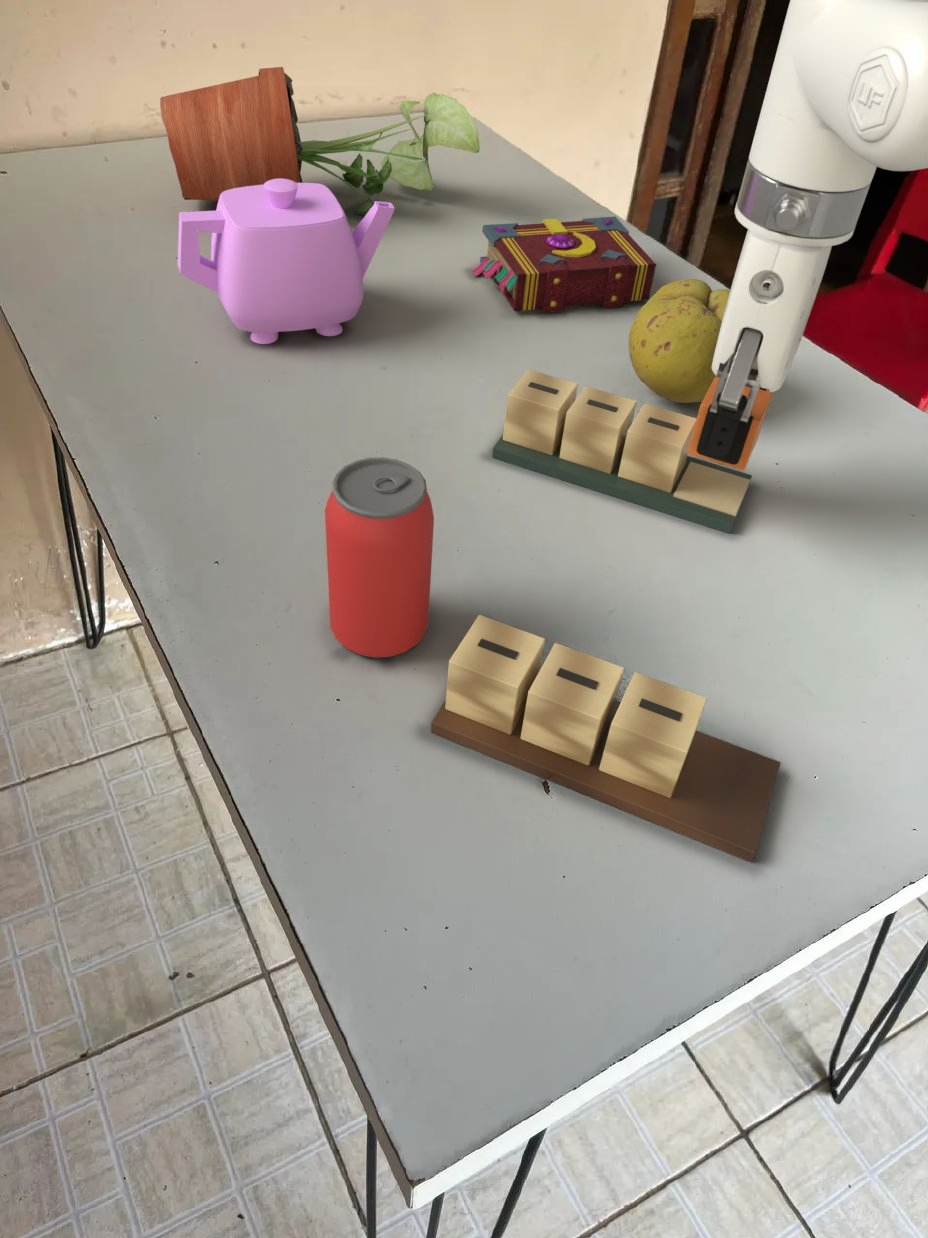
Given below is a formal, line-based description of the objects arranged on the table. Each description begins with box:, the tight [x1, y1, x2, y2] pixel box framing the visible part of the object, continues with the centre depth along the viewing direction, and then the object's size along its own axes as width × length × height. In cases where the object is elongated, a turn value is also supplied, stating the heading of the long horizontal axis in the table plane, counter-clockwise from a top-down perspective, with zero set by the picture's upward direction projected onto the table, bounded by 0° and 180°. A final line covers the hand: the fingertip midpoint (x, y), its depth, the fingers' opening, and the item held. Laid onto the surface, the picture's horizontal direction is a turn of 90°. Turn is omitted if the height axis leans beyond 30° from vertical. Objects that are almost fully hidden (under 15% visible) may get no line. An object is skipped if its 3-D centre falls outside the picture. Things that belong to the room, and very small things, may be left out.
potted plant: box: [159, 66, 481, 216], centre depth 109 cm, size 16×15×35 cm
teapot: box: [177, 178, 395, 345], centre depth 90 cm, size 20×12×13 cm, turn 110°
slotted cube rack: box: [491, 369, 753, 534], centre depth 78 cm, size 20×7×6 cm, turn 65°
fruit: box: [628, 278, 732, 404], centre depth 85 cm, size 11×12×10 cm
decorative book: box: [471, 216, 657, 314], centre depth 101 cm, size 11×16×5 cm
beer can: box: [324, 456, 435, 659], centre depth 62 cm, size 7×7×12 cm
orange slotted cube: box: [688, 377, 774, 472], centre depth 73 cm, size 4×4×4 cm
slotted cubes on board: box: [430, 614, 782, 862], centre depth 58 cm, size 20×7×6 cm, turn 65°
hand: (726, 437), depth 74 cm, fingers closed on orange slotted cube, 4 cm apart
